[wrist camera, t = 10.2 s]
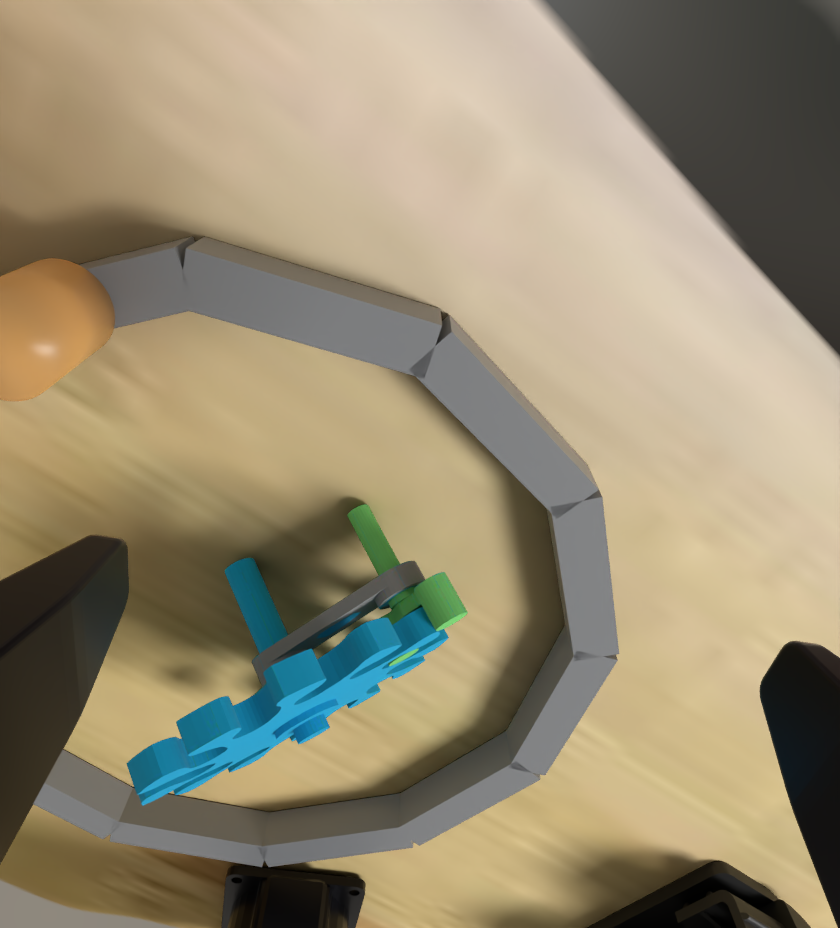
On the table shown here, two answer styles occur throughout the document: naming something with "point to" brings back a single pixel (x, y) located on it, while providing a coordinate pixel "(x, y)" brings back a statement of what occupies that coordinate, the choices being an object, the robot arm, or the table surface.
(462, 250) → the table surface
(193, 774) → the blue spiky figure
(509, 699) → the table surface
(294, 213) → the table surface
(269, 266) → the ring
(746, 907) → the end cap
